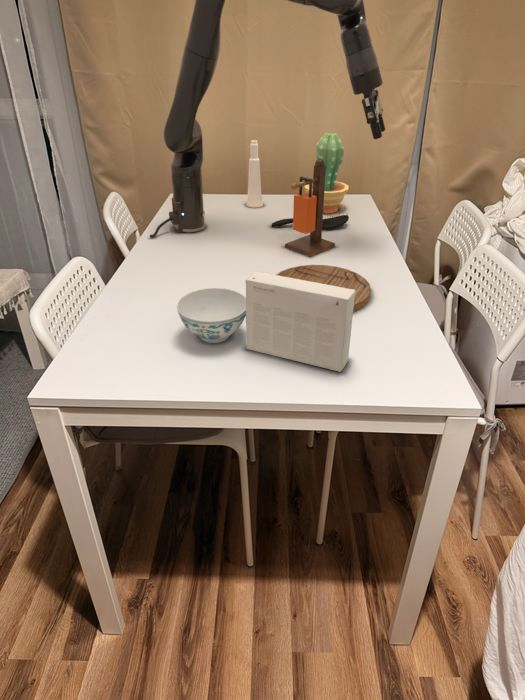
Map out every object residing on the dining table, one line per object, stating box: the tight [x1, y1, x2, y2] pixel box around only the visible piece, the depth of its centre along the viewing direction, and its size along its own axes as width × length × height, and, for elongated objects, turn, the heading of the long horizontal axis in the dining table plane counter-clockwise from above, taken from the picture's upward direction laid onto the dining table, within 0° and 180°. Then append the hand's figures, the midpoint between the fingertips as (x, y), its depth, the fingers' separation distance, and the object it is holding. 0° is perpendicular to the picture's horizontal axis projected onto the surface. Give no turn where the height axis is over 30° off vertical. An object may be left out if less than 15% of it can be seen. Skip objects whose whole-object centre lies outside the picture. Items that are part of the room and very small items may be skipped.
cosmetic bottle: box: [246, 139, 264, 209], centre depth 187 cm, size 6×6×22 cm
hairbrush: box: [271, 212, 350, 231], centre depth 174 cm, size 8×4×25 cm
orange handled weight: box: [292, 176, 317, 235], centre depth 151 cm, size 4×5×15 cm
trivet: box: [276, 264, 372, 313], centre depth 135 cm, size 25×25×2 cm
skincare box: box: [245, 271, 355, 373], centre depth 107 cm, size 21×5×16 cm, turn 65°
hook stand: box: [284, 159, 336, 258], centre depth 152 cm, size 14×10×25 cm
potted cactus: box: [304, 132, 350, 214], centre depth 182 cm, size 15×15×25 cm
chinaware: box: [176, 287, 246, 344], centre depth 116 cm, size 15×15×8 cm
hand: (379, 135), depth 143 cm, fingers open, 8 cm apart
